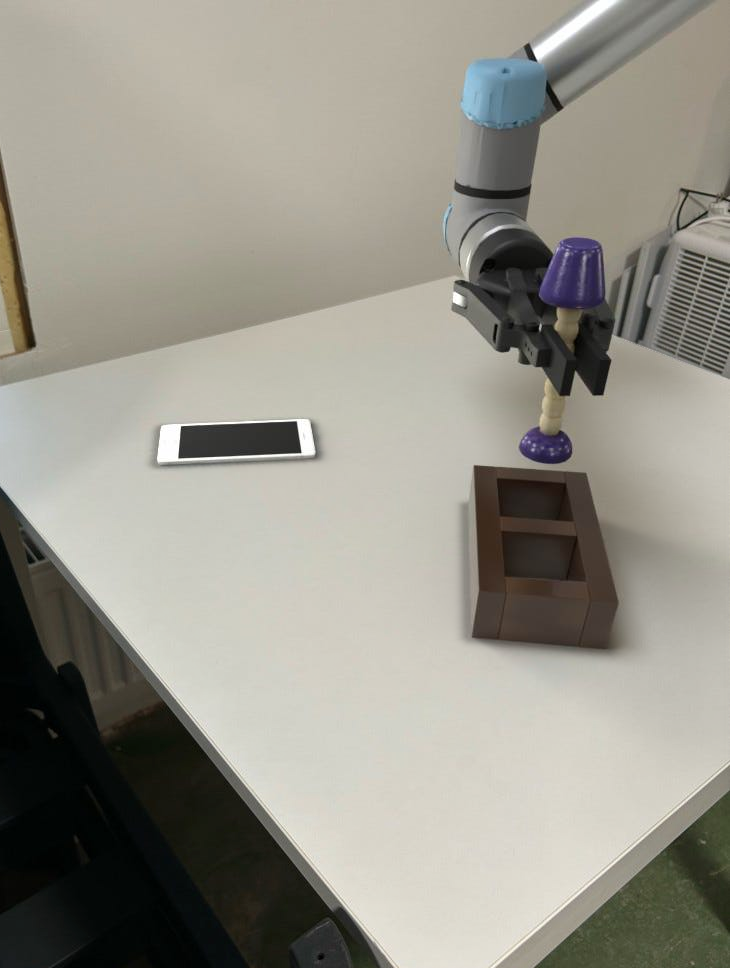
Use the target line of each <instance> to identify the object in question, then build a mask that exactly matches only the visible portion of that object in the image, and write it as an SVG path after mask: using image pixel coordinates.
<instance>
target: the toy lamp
mask: <svg viewBox="0 0 730 968" xmlns="http://www.w3.org/2000/svg"><path fill="white" fill-rule="evenodd" d="M553 254H554V255H553V257H552V260H551V262H550V264H549V267H548V269H547V272H546V274H545V277H544V279H543V282H542V284H541V287H540V291H539V296H540V298H541V300H542V301H544V302H545V303H547V304H549V305H552V306H555V307H557V317H558V320H557V322H556V324H555V326H554V329H555V330H556V331H557V332H558V334H559V335H560V337H561V338H562V340H563V341H564V342H565V344H566V345H567V347H568V348H569V349H570V351H571V352H572V354H573V355H574V352H575V343H574V340H575V339H576V337H577V334H578V330H579V327H578V322H577V321H578V320H579V318H580V317H581V314H582V309H589V308H594V307H597V306H599V305H601V304H602V303H603V301H604V299H606V278H605V277H606V276H605V264H604V262H605V261H604V250H603V246H602V244H601V243H600V242H599V241H598V240H596V239H592V238H588V237H580V236H579V237H576V236H574V237H567V238H564V239H562V240H560V241H559V243H558V244H557V246H556V248H555V250H554V252H553ZM544 393H545V395H544V397H543V399H542V403H541V411H542V413H541V415H540V418H539V426H536V427H533V428H531V429H529V430H528V431H527V432H526V433H525V434H524V435H523V436H522V438H521V440H520V442H519V445H518V450H519V452H520V454H521V455H522V456H524V457H525V458H527V459H528V460H530V461H532V462H535V463H539V464H544V465H559V464H562V463H565V462H567V461H569V460H570V459H571V457H572V455H573V444H572V441H571V439H570V437H569V436H568V434H567V433H565V432H564V431H563V430H561V429H562V426H563V417H562V415H563V413H564V412H565V407H566V400H565V397H566V396H559V394H558V393H557V391H556V390H555V388H554V386H553V385H552V383H551V382H550V380H549V378H548V377H547V378H546V380H545V383H544Z"/></svg>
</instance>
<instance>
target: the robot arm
mask: <svg viewBox="0 0 730 968" xmlns="http://www.w3.org/2000/svg"><path fill="white" fill-rule="evenodd" d="M717 1H718V0H581V1H580V2H578V3H577V4H576V5H575V6H573V7H571V8H570V9H569V10H568V11H567V12H565V13H563V14H562V15H561V16H559V18H557V19H556V20H555V21H553V22H552V23H551V24H550V25H548V26H547V27H546V28H544V29H543V30H542V31H540V32H539V33H538V34H536V35H535V36H533V37H532V38H531V39H529V41H528V42H527V43H526V44H524V45H523V46H522V47H520V48H518V49H517V50H516V51H514V52H513V53H512V54H510V55H509V56H507V57H505V58H504V57H492V58H491V57H490V58H482V59H478V60H474V61H473V62H472V63H470V65H469V66H468V67H467V69H466V73H465V78H464V85H463V91H462V95H461V98H460V122H459V132H458V144H457V145H458V146H457V158H456V171H455V179H454V184H453V185H454V186H453V191H452V192H453V193H452V201H451V202H450V204H449V205H448V207H447V208H446V211H445V214H444V217H443V222H442V232H443V238H444V244H446V249H447V251H448V252H449V256H451V258H452V260H453V261H454V262H455V264H456V265H457V267H458V268H459V270H460V272H461V273H462V275H463V276H464V278H465V279H457V280H454V281H453V291H452V300H451V311H452V312H453V313H455V314H457V315H460V316H461V317H464V318H465V319H466V320H467V321H468V322H469V324H471V325H472V326H473V328H474V329H475V330H476V331H477V332H478V333H479V334H480V335H481V337H482V338H483V339H484V340H485V341H486V342H487V343H488V344H489V346H490V347H492V349H493V350H494V351H496V352H498V353H500V354H501V353H502V354H503V353H508V352H511V348H513V349H517V350H518V357H517V363H518V364H520V365H524V366H530V365H531V366H533V367H534V368H541V369H542V370H543V372H544V374H545V375H546V376H547V379H548V378H549V380H550V382H551V383H552V385H553V386H554V388H555V390H556V391H557V393H558V394H559V396H565V397H571V393H572V388H573V384H574V379H575V375H576V374H577V375H578V376H579V378H580V380H581V381H582V382H583V384H584V385H585V387H586V389H587V390H588V392H590V394H591V395H592V396H594V397H599V396H600V397H601V396H603V397H604V395H605V390H606V385H607V381H608V377H609V372H610V368H611V363H612V359H611V357H610V356H609V355H608V353H607V352H608V351H609V350H610V345H611V341H612V337H613V333H614V328H615V323H616V318H615V316H614V315H613V312H612V310H611V308H610V305H609V303H608V301H607V299H606V298H605V299H604V301H603V303H602V304H601V305H599V306H597V307H594V308H589V309H582V314H581V317H580V318H579V320H578V321H577V322H578V327H579V330H578V334H577V337H576V339H575V340H574V343H575V352H574V355H573V354H572V352H571V351H570V349H569V348H568V347H567V345H566V344H565V342H564V341H563V340H562V338H561V337H560V335H559V334H558V332H557V331H556V330H555V329H554V326H555V324H556V322H557V320H558V317H557V307H555V306H552V305H549V304H547V303H545V302H544V301H542V300H541V298H540V296H539V291H540V287H541V284H542V282H543V279H544V277H545V274H546V272H547V269H548V267H549V264H550V262H551V260H552V257H553V255H554V252H553V251H552V250H551V248H549V246H548V245H547V244H546V243H545V242H544V241H543V239H541V238H540V236H539V235H538V234H537V232H536V231H535V230H534V229H533V227H531V225H529V224H528V222H527V218H528V211H529V205H530V204H529V203H530V197H531V190H532V185H533V184H532V180H533V174H534V169H535V164H536V163H535V162H536V156H537V151H538V147H539V139H540V131H541V127H542V125H543V124H544V123H546V122H548V121H549V120H550V119H552V118H553V117H555V116H556V115H557V114H558V113H559V112H561V111H562V110H564V108H566V107H567V106H569V105H570V104H572V103H573V102H575V101H576V100H577V99H579V98H580V97H581V96H583V95H584V94H586V93H587V92H589V91H591V89H593V88H595V87H596V86H597V85H599V84H601V83H602V82H603V81H604V80H606V79H608V78H609V77H610V76H611V75H613V74H614V73H616V72H618V71H619V70H620V69H622V68H623V67H624V66H626V65H627V64H629V63H630V62H631V61H633V60H635V59H636V58H638V57H639V56H640V55H642V54H643V53H644V52H646V51H647V50H649V49H650V48H652V47H653V46H655V45H656V44H657V43H659V42H660V41H662V40H663V39H665V38H666V37H668V36H669V35H670V34H672V33H674V31H676V30H677V29H679V28H681V27H682V26H683V25H685V24H686V23H688V22H689V21H690V20H692V19H694V18H695V17H696V16H697V15H699V14H701V13H702V12H703V11H704V10H706V9H707V8H709V7H710V6H712V5H714V4H715V3H716V2H717Z"/></svg>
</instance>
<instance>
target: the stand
mask: <svg viewBox="0 0 730 968" xmlns="http://www.w3.org/2000/svg"><path fill="white" fill-rule="evenodd" d="M467 521H468V522H467V524H468V525H467V526H468V556H469V557H468V558H469V559H468V561H469V592H470V593H469V597H470V600H469V601H470V629H471V630H470V631H471V638H474V639H482V640H483V639H484V640H494V641H495V640H497V641H505V642H507V641H508V642H518V643H529V644H539V645H550V646H562V647H572V648H573V647H574V648H585V649H594V650H595V649H596V650H606V649H607V646H608V642H609V639H610V635H611V632H612V629H613V625H614V621H615V618H616V614H617V611H618V607H619V604H620V603H619V598H618V593H617V590H616V585H615V581H614V578H613V573H612V570H611V566H610V561H609V558H608V554H607V550H606V546H605V542H604V538H603V535H602V530H601V526H600V522H599V517H598V514H597V510H596V507H595V502H594V498H593V494H592V490H591V486H590V481H589V477H588V474H587V472H580V471H568V470H567V471H565V470H564V471H563V470H552V469H539V468H538V469H536V468H525V467H524V468H523V467H511V466H494V465H481V464H480V465H479V464H478V465H477V464H474V465H473V466H472V473H471V481H470V489H469V497H468V505H467Z"/></svg>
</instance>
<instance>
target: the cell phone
mask: <svg viewBox="0 0 730 968" xmlns="http://www.w3.org/2000/svg"><path fill="white" fill-rule="evenodd" d="M316 453H317V451H316V445H315V441H314V435H313V430H312V424H311V421H310V419H307V418H303V419H302V418H301V419H300V418H299V419H298V418H295V419H276V420H275V419H273V420H272V419H271V420H250V421H249V420H248V421H227V422H223V421H222V422H202V423H201V422H199V423H178V424H175V423H174V424H164V425H162V426H161V427H160V435H159V442H158V452H157V459H156V460H157V464H158V465H160V466H169V465H170V466H171V465H191V464H194V465H195V464H214V463H215V464H217V463H235V462H236V463H237V462H239V463H240V462H256V461H280V460H282V461H283V460H302V459H303V460H304V459H305V460H306V459H314V458H316Z"/></svg>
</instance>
